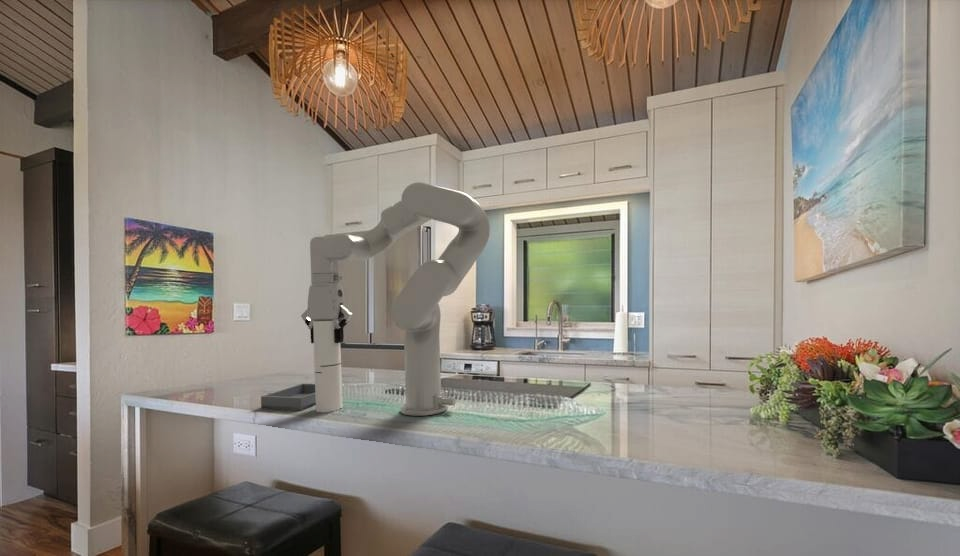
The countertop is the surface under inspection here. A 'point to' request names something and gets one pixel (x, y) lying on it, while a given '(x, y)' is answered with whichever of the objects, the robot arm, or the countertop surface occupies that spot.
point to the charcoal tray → (291, 398)
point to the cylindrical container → (327, 367)
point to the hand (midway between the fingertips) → (327, 342)
